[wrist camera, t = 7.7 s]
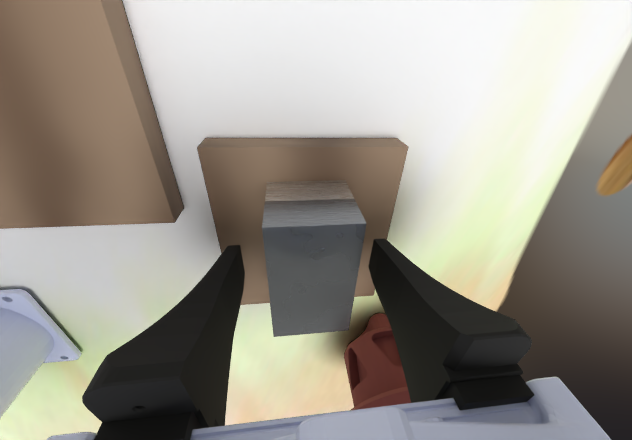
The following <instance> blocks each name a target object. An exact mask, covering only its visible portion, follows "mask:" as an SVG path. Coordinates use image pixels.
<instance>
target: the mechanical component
mask: <svg viewBox="0 0 632 440" xmlns="http://www.w3.org/2000/svg"><path fill="white" fill-rule="evenodd" d="M344 359H345V364H346V369H347V373H348V378H349V383H350V388H351V393H352V398H353V403H354V408H353V409H351V410H358V409H366V408H374V407H382V406H391V405H399V404H407V403H411V400H410V396H409V392H408V387H407V383H406V379H405V375H404V371H403V367H402V363H401V360H400V356H399V353H398V349H397V345H396V342H395V339H394V335H393V332H392V329H391V326H390V323H389V320H388V318H387V316H386V315H385V314H382V313H377V314H374V315H373V316H372V317H371V318H370V320H369V323H368V326H367V327H366V329H365V331H364V332H363V333H362V334H361V335H360V336H359V337H358V338H357V339H355V340H354V341H352V342H351V343H349V345H348V346H347V349H346V351H345V353H344Z"/></svg>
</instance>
